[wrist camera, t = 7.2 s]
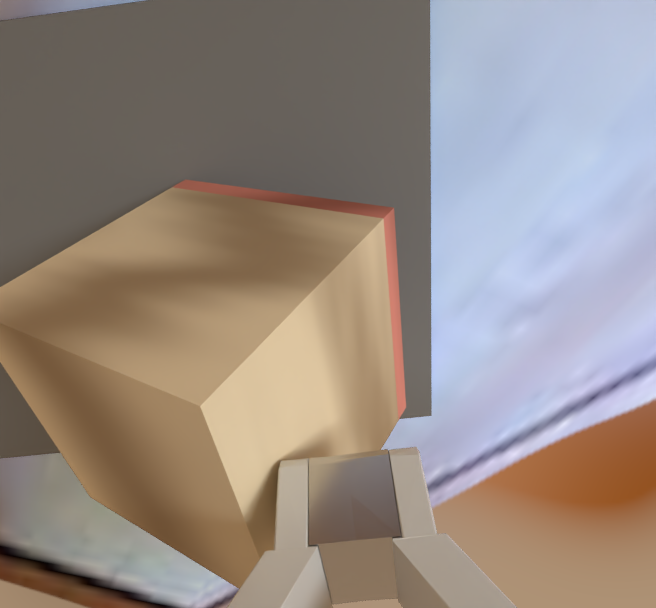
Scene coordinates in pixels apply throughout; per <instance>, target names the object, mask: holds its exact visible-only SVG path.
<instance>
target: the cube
mask: <svg viewBox="0 0 656 608" xmlns="http://www.w3.org/2000/svg"><path fill="white" fill-rule="evenodd" d="M0 363H1V364H2V366H3V367H4V369H5V370H6V372H7V373H8V375H9V376H10V378H11V379H12V381H13V382H14V383H15V385H16V386H17V388H18V389H19V391H20V392H21V394H22V395H23V397H24V398H25V400H26V401H27V403H28V404H29V406H30V407H31V409H32V410H33V412H34V413H35V415H36V416H37V418H38V419H39V421H40V422H41V424H42V425H43V427H44V428H45V430H46V431H47V433H48V434H49V436H50V437H51V439H52V440H53V442H54V443H55V445H56V446H57V448H58V449H59V451H60V452H61V454H62V455H63V457H64V458H65V460H66V461H67V463H68V464H69V466H70V467H71V469H72V470H73V472H74V473H75V475H76V476H77V478H78V479H79V481H80V482H81V484H82V485H83V487H84V488H85V490H86V491H87V493H88V494H89V496H90V497H91V498H92V499H94V500H96V501H97V502H99V503H101V504H102V505H104V506H105V507H107V508H109V509H110V510H112V511H114V512H115V513H117V514H118V515H120V516H122V517H123V518H125V519H127V520H128V521H130V522H132V523H133V524H135V525H136V526H138V527H140V528H141V529H143V530H145V531H146V532H148V533H149V534H151V535H153V536H154V537H156V538H158V539H159V540H161V541H162V542H164V543H166V544H167V545H169V546H171V547H172V548H174V549H176V550H177V551H179V552H180V553H182V554H184V555H185V556H187V557H189V558H190V559H192V560H193V561H195V562H197V563H198V564H200V565H202V566H203V567H205V568H206V569H208V570H210V571H211V572H213V573H215V574H216V575H218V576H219V577H221V578H223V579H224V580H226V581H228V582H229V583H231V584H233V585H234V586H236V587H237V588H239V589H240V587H241V586H242V584H243V583H244V581H245V580H246V579H247V577H248V576H249V574H250V573H251V571H252V570H253V568H254V567H255V565H256V564H257V562H258V561H259V559H260V558H261V556H262V555H263V553H264V552H265V551H269V550H274V536H275V519H276V502H277V485H278V469H279V466H280V463H281V461H285V460H296V459H306V458H318V457H330V456H337V455H345V454H353V453H361V452H370V451H378V450H381V448H382V447H383V445H384V443H385V442H386V440H387V438H388V437H389V435H390V433H391V432H392V430H393V428H394V427H395V425H396V423H397V422H398V420H399V418H400V417H401V415H402V413H403V412H404V410H405V408H406V397H405V380H404V364H403V347H402V330H401V314H400V297H399V281H398V264H397V248H396V231H395V215H394V208H393V207H386V206H378V205H371V204H363V203H356V202H349V201H341V200H334V199H326V198H319V197H311V196H304V195H297V194H289V193H282V192H274V191H267V190H260V189H252V188H245V187H237V186H230V185H222V184H215V183H208V182H200V181H193V180H184V181H182V182H180V183H178V184H177V185H175V186H173V187H171V188H170V189H168V190H166V191H165V192H163V193H161V194H159V195H158V196H156V197H154V198H153V199H151V200H149V201H147V202H146V203H144V204H142V205H141V206H139V207H137V208H135V209H134V210H132V211H130V212H129V213H127V214H125V215H123V216H122V217H120V218H118V219H117V220H115V221H113V222H111V223H110V224H108V225H106V226H105V227H103V228H101V229H99V230H98V231H96V232H94V233H92V234H91V235H89V236H87V237H86V238H84V239H82V240H80V241H79V242H77V243H75V244H74V245H72V246H70V247H68V248H67V249H65V250H63V251H62V252H60V253H58V254H56V255H55V256H53V257H51V258H50V259H48V260H46V261H44V262H43V263H41V264H39V265H38V266H36V267H34V268H32V269H31V270H29V271H27V272H26V273H24V274H22V275H20V276H19V277H17V278H15V279H13V280H12V281H10V282H8V283H7V284H5V285H3V286H1V287H0Z"/></svg>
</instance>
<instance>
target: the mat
mask: <svg viewBox="0 0 656 608" xmlns="http://www.w3.org/2000/svg"><path fill="white" fill-rule="evenodd" d="M184 180H193V181H200V182H208V183H215V184H222V185H230V186H237V187H245V188H252V189H260V190H267V191H274V192H282V193H289V194H297V195H304V196H311V197H319V198H326V199H334V200H341V201H349V202H356V203H363V204H371V205H378V206H386V207H393V208H394V215H395V231H396V248H397V264H398V281H399V297H400V314H401V330H402V347H403V364H404V380H405V397H406V408H405V410H404V412H403V413H402V415H401V417H400V418H399V419H403V418H413V417H423V416H431V165H430V0H146V1H139V2H132V3H125V4H117V5H110V6H103V7H96V8H88V9H81V10H74V11H67V12H60V13H52V14H45V15H38V16H31V17H24V18H16V19H9V20H2V21H0V287H1V286H3V285H5V284H7V283H8V282H10V281H12V280H13V279H15V278H17V277H19V276H20V275H22V274H24V273H26V272H27V271H29V270H31V269H32V268H34V267H36V266H38V265H39V264H41V263H43V262H44V261H46V260H48V259H50V258H51V257H53V256H55V255H56V254H58V253H60V252H62V251H63V250H65V249H67V248H68V247H70V246H72V245H74V244H75V243H77V242H79V241H80V240H82V239H84V238H86V237H87V236H89V235H91V234H92V233H94V232H96V231H98V230H99V229H101V228H103V227H105V226H106V225H108V224H110V223H111V222H113V221H115V220H117V219H118V218H120V217H122V216H123V215H125V214H127V213H129V212H130V211H132V210H134V209H135V208H137V207H139V206H141V205H142V204H144V203H146V202H147V201H149V200H151V199H153V198H154V197H156V196H158V195H159V194H161V193H163V192H165V191H166V190H168V189H170V188H171V187H173V186H175V185H177V184H178V183H180V182H182V181H184ZM50 453H60V451H59V449H58V448H57V446H56V445H55V443H54V442H53V440H52V439H51V437H50V436H49V434H48V433H47V431H46V430H45V428H44V427H43V425H42V424H41V422H40V421H39V419H38V418H37V416H36V415H35V413H34V412H33V410H32V409H31V407H30V406H29V404H28V403H27V401H26V400H25V398H24V397H23V395H22V394H21V392H20V391H19V389H18V388H17V386H16V385H15V383H14V382H13V381H12V379H11V378H10V376H9V375H8V373H7V372H6V370H5V369H4V367H3V366H2V364H1V363H0V458H10V457H20V456H30V455H40V454H50Z"/></svg>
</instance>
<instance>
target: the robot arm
mask: <svg viewBox="0 0 656 608" xmlns="http://www.w3.org/2000/svg"><path fill="white" fill-rule="evenodd" d="M397 598H398V601H399V603H400V604H401V606H402V607H403V608H517V607H516V606H515V605H514V604H513V603H512V602H511V601H510V600H509V599H508V598H507V597H506V596H505V595H504V594H503V593H502V591H500V589H499V588H498V587H497V586H496V585H495V584H494V583H493V582H492V581H491V580H490V579H489V578H488V577H487V576H486V575H485V574H484V573H483V571H482V570H481V569H480V568H479V567H478V566H477V565H476V564H475V563H474V562H473V561H472V560H471V559H470V558H469V557H468V556H467V555H466V554H465V553H464V552H463V550H461V548H460V547H459V546H458V545H457V544H456V543H455V542H454V541H453V540H452V539H451V538H450V537H449V536H448V535H447V534H437V531H436V527H435V522H434V518H433V513H432V508H431V503H430V499H429V494H428V489H427V485H426V480H425V475H424V471H423V466H422V462H421V457H420V452H419V451H418V449H417V447H411V448H402V449H393V450H389V451H388V450H387V449H386V450H378V451H370V452H361V453H353V454H345V455H337V456H330V457H318V458H306V459H296V460H285V461H281V463H280V466H279V469H278V485H277V502H276V519H275V536H274V550H269V551H265V552H264V553H263V555H262V556H261V558H260V559H259V561H258V562H257V564H256V565H255V567H254V568H253V570H252V571H251V573H250V574H249V576H248V577H247V579H246V580H245V581H244V583H243V584H242V586H241V587H240V589H239V590H238V592H237V593H236V595H235V596H234V598H233V599H232V601H231V602H230V604H229V605H228V607H227V608H333V607H332V604H340V603H348V602H357V601H364V600H365V601H366V600H380V599H397Z"/></svg>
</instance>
